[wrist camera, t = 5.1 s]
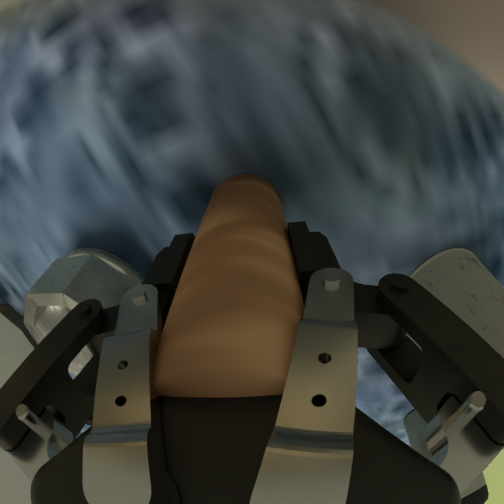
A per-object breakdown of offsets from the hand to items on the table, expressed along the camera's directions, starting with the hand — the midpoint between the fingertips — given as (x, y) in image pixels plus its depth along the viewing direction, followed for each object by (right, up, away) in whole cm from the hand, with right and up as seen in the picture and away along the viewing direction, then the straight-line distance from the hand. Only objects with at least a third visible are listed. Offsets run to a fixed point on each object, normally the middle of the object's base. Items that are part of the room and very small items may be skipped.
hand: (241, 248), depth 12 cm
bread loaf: (0, +2, +4) cm, 4 cm away
